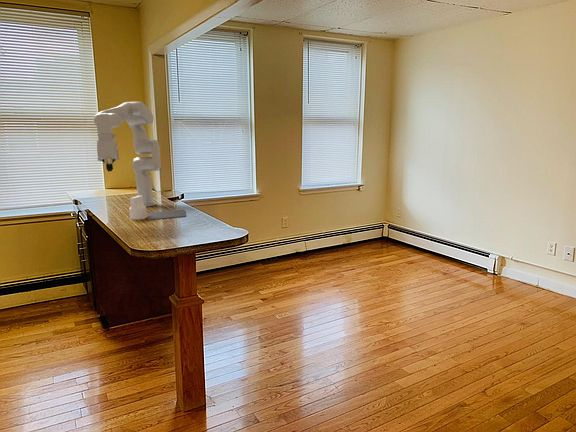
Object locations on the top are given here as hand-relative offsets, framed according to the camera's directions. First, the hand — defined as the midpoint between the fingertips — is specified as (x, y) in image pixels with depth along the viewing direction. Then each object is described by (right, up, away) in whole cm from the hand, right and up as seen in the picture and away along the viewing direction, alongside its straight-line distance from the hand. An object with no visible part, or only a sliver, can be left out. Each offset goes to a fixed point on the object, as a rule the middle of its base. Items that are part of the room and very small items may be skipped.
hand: (110, 171), depth 234 cm
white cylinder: (+13, -26, +9) cm, 30 cm away
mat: (+28, -24, +12) cm, 39 cm away
